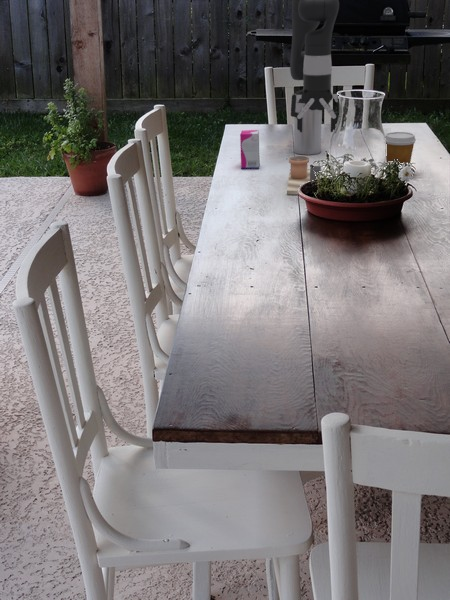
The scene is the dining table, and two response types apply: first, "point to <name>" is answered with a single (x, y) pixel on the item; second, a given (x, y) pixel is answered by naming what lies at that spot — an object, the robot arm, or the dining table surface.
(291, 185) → the birch board
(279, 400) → the dining table surface
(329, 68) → the robot arm
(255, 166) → the supplement box
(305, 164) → the terracotta pot
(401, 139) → the disposable coffee cup
